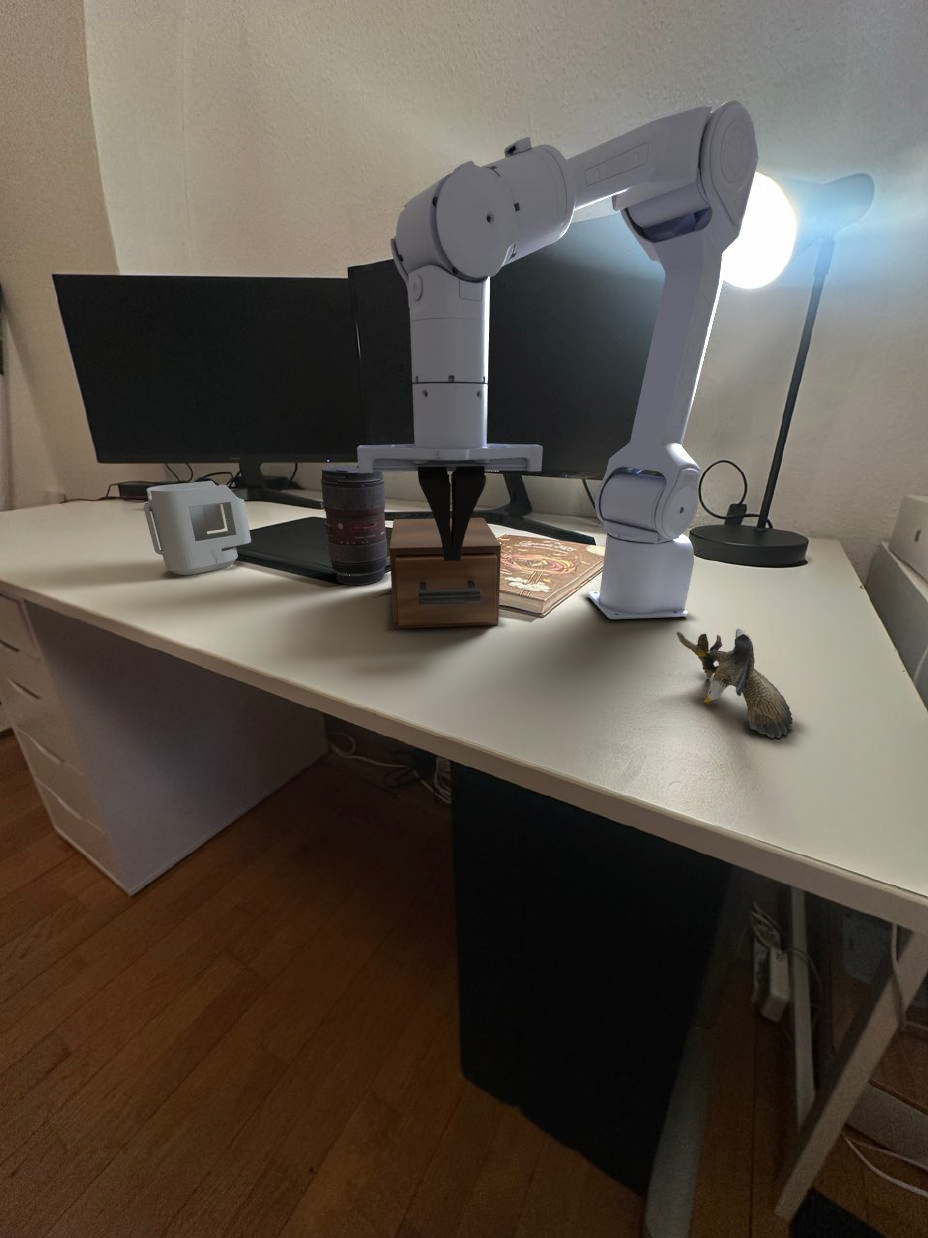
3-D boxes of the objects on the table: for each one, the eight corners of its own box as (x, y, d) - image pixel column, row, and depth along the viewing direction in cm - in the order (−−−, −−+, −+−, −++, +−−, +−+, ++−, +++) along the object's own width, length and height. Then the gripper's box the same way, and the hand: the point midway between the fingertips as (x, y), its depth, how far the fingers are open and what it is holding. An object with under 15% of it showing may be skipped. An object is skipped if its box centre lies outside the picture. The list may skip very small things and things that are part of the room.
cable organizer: (257, 563, 75) (243, 483, 71) (168, 582, 67) (145, 493, 63) (240, 554, 80) (225, 478, 75) (154, 571, 72) (132, 487, 67)
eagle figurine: (650, 671, 43) (722, 712, 35) (695, 601, 42) (780, 625, 34) (711, 706, 45) (793, 754, 37) (754, 640, 45) (848, 673, 36)
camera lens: (371, 590, 65) (362, 473, 59) (319, 583, 67) (305, 469, 61) (400, 572, 72) (394, 465, 66) (352, 566, 74) (342, 462, 68)
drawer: (501, 639, 50) (504, 570, 47) (397, 643, 49) (393, 573, 46) (480, 583, 65) (481, 528, 62) (401, 585, 64) (398, 530, 61)
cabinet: (498, 624, 55) (501, 545, 51) (394, 628, 54) (389, 548, 50) (482, 583, 67) (483, 517, 64) (397, 586, 66) (393, 519, 63)
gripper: (346, 381, 33) (362, 574, 38) (557, 383, 34) (544, 569, 40) (357, 385, 39) (369, 549, 45) (534, 386, 41) (526, 546, 46)
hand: (451, 557), depth 43 cm, fingers closed
